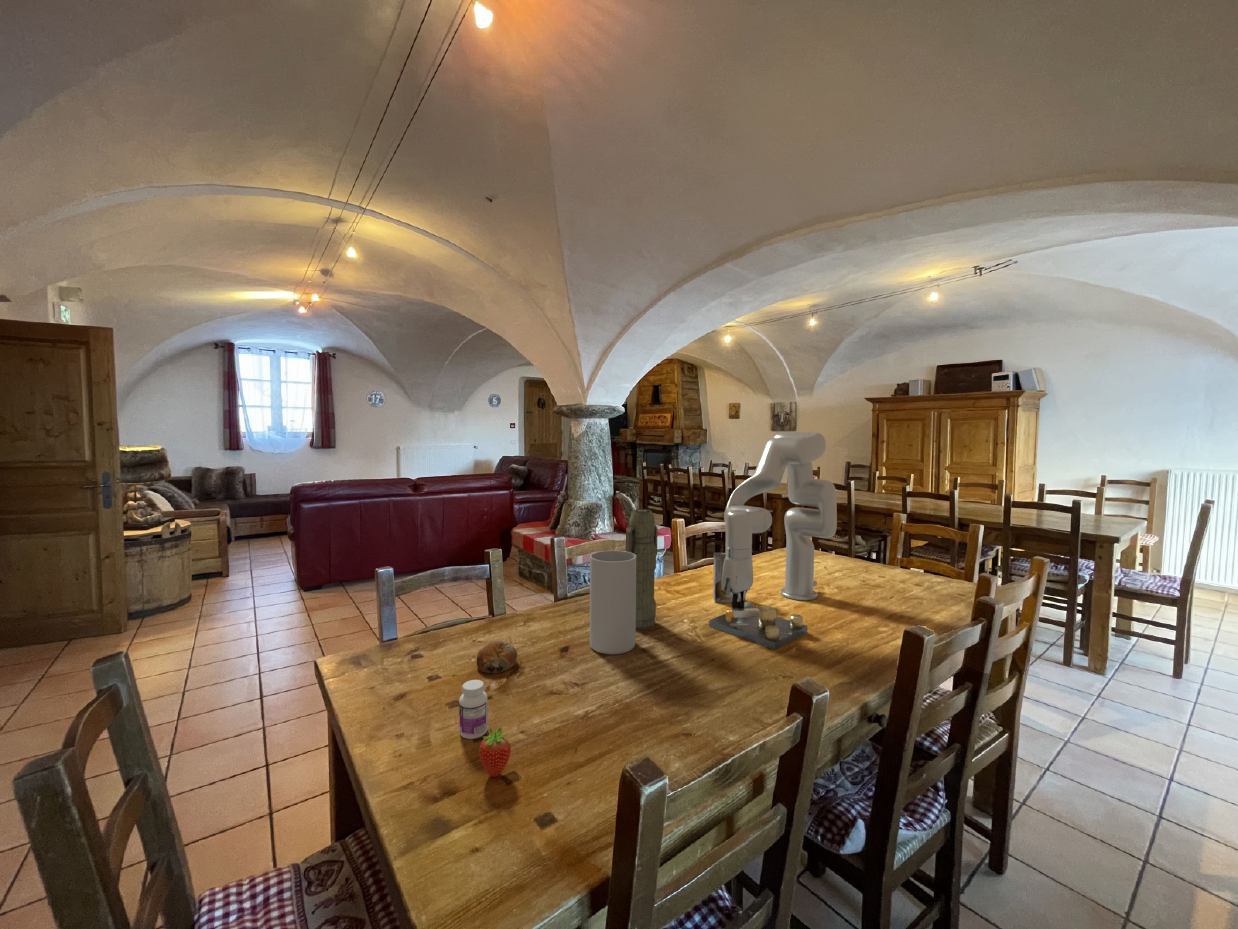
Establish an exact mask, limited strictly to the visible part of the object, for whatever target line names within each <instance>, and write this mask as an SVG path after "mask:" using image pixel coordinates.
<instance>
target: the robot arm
mask: <svg viewBox="0 0 1238 929" xmlns="http://www.w3.org/2000/svg"><path fill="white" fill-rule="evenodd" d="M826 447H827V442H826V439H825V437H824V435H823V434H822V433H819V432H812V431H811V432H810V431H809V432H806V431H805V432H801V431H800V432H799V431H784V432H778V433H776V434H775V435H774V436H773V438H770V439H769V440H767V441H766V442H765V445H764V447H763V448H762V451H761V455H760V457H759V460H758V463H757V465H756V468H755V470H754V472H753V474H752V475H751V476H750V477H749V478H746V480H744V481H742V482H741V484H739V485H738V486H737V487H736V488H735V489H734V490H733V491H732V493H731V494H730V496H729V499H728V501H727V503H726V506H725V510H724V514H723V521H724V523H725V553H726V558H725V559H724V563H723V570H722V590H724V591H725V590H727V591H726V597H729V598H731V600H732V603H731V609H744V603H745V600H746V598H747V597H746V596H747V593H748V592H749V591H750V590H751V588H752V586H753V584H754V566H753V555H752V553H753V547H752V546H753V534H760V533H761V534H762V533H764V532H767V531H768V530H769V529H770V527H771V526H772V523H773V516H772V513H771V512H770V511H769V510H768V509H766V508H763V507H759V506H758V507H756V506H750V505H745V503H746V502H747V501H748V500H750V499H751V498H753V497H755V496H757V495H760V494H764V493H766V492H769V491H772V490H775V489H777V488H778V487H779V486H780V484H781V482H782V480H783V476H784V473H785V471H786V474H787V475H786V478H787V479H786V480H787V495H788V496H787V497H788V501H790V502H791V503H792V504H794V505H797V506H798V505H799V506H807V507H791V508H789V509H788V510H787V511H786V512H785V514H784V520H783V521H784V522H783V523H784V529H785V535H786V536H785V539H786V540H785V541H786V544H785V545H786V548H785V549H786V550H785V551H786V552H785V580H784V581H785V583H784V586H785V587H782V588H781V589H780V594H781V595H782V596H783V597H785V598H787V599H790V600H796V601H813V600H816V599H817V598H818V592H817V591H815V590H814V587H815V586H817V585H818V582H817V580H814V578H815V577H814V572H815V571H814V570H815V545H814V543H813V541H812V539H811V537H815V538H822V539H830V538H832V537H834V536H835V534H836V532H837V526H838V518H837V517H838V515H837V514H838V513H837V510H838V509H837V506H838V505H837V490H836V487H835V484H834V483H833V482H832V481H830V480H829V479H819V478H814V474H813V472H814V471H813V470H814V469H813V468H814V467H813V463H812V462H814V461H816V460H818V459H820V458H821V457H822V456H823V455H824V453H825V452H826ZM809 507H814V508H809ZM815 507H816V508H818V509H815Z"/></svg>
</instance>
